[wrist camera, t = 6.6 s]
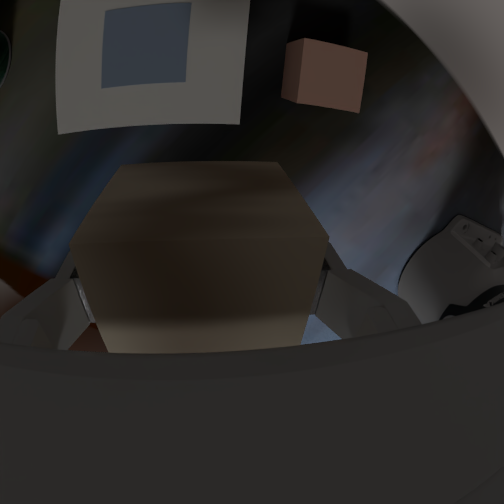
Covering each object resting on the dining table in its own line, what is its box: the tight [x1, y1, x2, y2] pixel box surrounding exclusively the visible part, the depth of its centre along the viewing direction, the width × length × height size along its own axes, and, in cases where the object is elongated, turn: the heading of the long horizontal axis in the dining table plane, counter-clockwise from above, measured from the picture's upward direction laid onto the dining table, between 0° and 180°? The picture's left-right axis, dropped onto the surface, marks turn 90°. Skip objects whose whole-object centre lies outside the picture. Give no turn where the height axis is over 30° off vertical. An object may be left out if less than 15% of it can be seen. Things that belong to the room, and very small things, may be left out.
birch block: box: [69, 161, 329, 353], centre depth 9 cm, size 6×6×5 cm
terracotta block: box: [281, 38, 368, 113], centre depth 20 cm, size 5×5×5 cm
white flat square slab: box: [56, 0, 250, 134], centre depth 18 cm, size 16×14×1 cm
